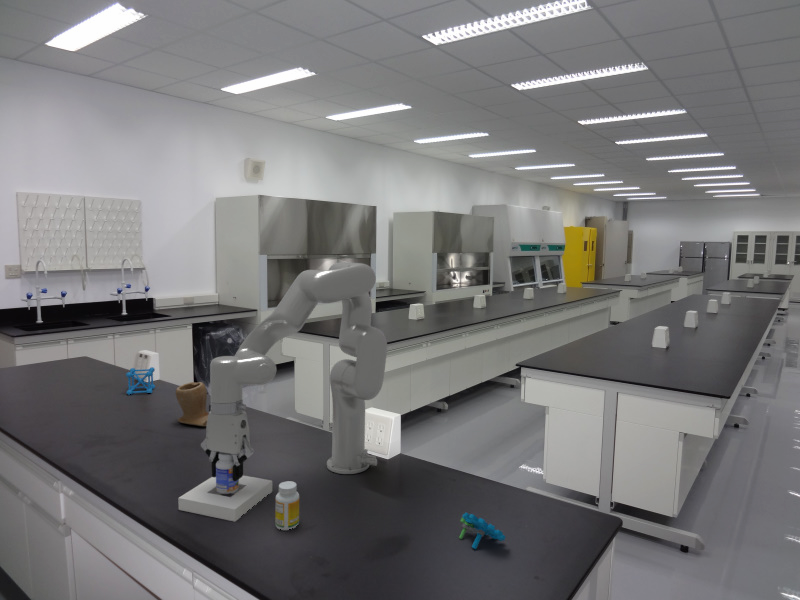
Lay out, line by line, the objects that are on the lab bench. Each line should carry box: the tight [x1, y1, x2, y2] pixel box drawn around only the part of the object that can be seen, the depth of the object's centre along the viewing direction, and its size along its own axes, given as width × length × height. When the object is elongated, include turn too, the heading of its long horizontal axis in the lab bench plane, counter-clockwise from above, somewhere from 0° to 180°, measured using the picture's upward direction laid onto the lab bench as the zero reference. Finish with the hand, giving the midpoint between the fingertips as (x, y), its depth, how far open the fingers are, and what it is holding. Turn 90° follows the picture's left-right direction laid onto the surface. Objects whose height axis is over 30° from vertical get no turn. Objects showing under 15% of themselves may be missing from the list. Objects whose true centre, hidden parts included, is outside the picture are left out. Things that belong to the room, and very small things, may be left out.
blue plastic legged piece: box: [458, 512, 506, 550], centre depth 112 cm, size 11×6×10 cm
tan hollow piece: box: [175, 381, 209, 427], centre depth 184 cm, size 15×12×15 cm
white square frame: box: [177, 474, 273, 523], centre depth 129 cm, size 16×16×3 cm
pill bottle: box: [216, 452, 239, 495], centre depth 128 cm, size 5×5×10 cm
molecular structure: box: [125, 366, 156, 396], centre depth 223 cm, size 10×10×10 cm
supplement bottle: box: [274, 480, 300, 531], centre depth 118 cm, size 5×5×10 cm
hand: (227, 476), depth 129 cm, fingers closed on pill bottle, 5 cm apart
